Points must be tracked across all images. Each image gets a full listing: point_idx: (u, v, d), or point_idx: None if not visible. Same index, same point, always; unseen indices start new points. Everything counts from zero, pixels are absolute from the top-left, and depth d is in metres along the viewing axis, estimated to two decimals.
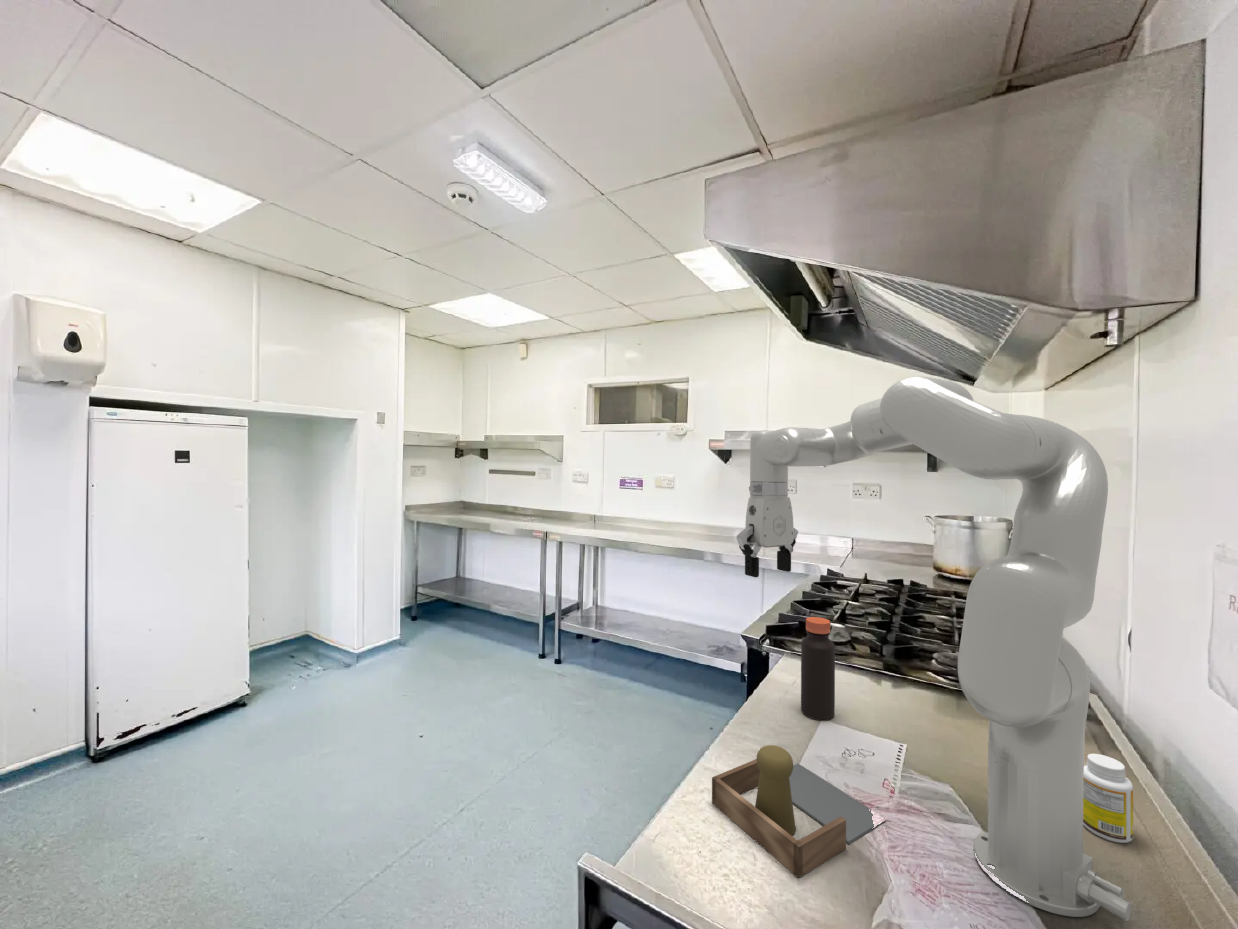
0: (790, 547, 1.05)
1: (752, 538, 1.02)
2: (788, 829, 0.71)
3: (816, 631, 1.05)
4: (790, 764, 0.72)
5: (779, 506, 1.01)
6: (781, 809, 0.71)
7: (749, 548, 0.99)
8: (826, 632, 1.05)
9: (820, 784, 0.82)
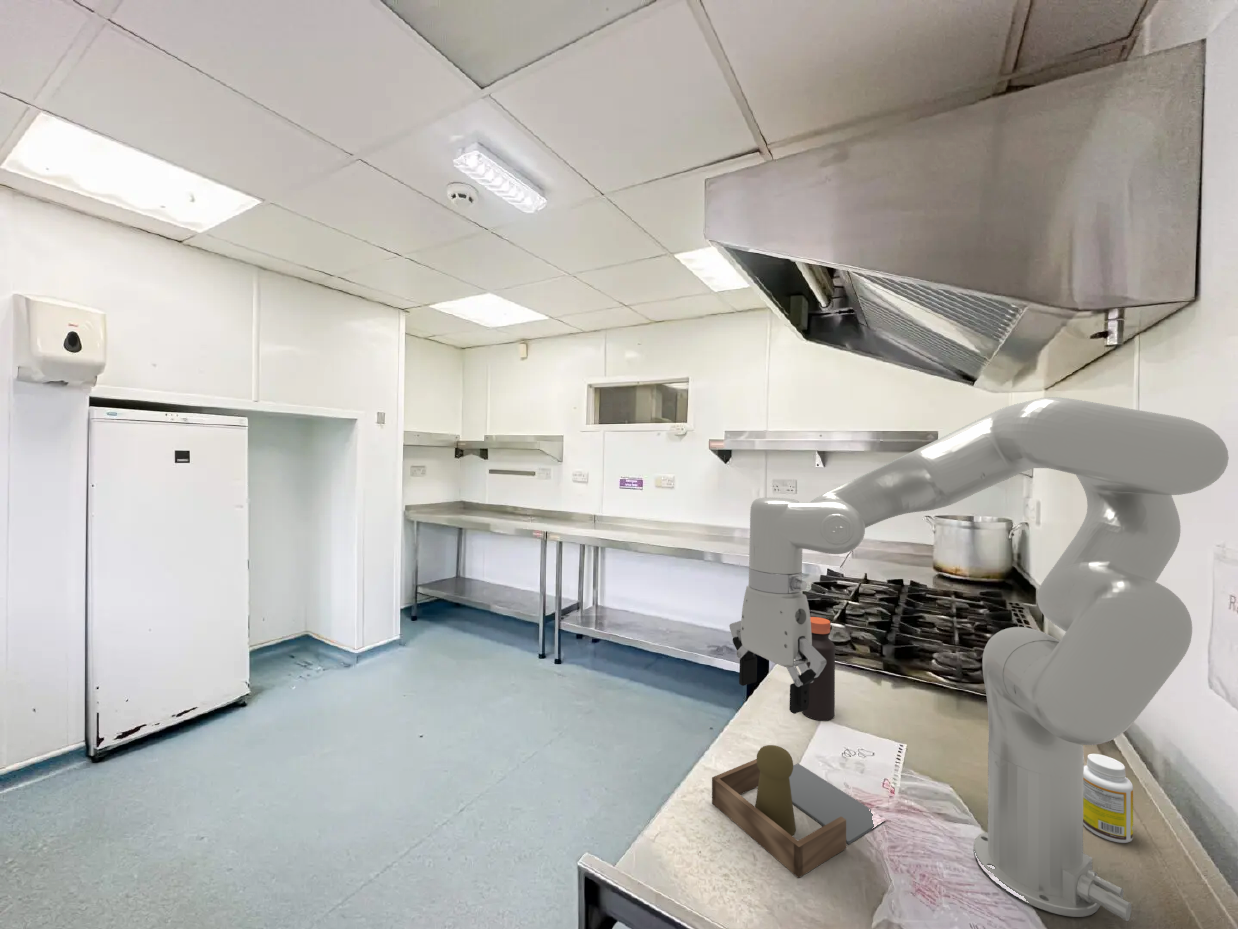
0: None
1: None
2: (788, 829, 0.71)
3: (816, 631, 1.05)
4: (790, 764, 0.72)
5: None
6: (781, 809, 0.71)
7: None
8: (826, 632, 1.05)
9: (820, 784, 0.82)
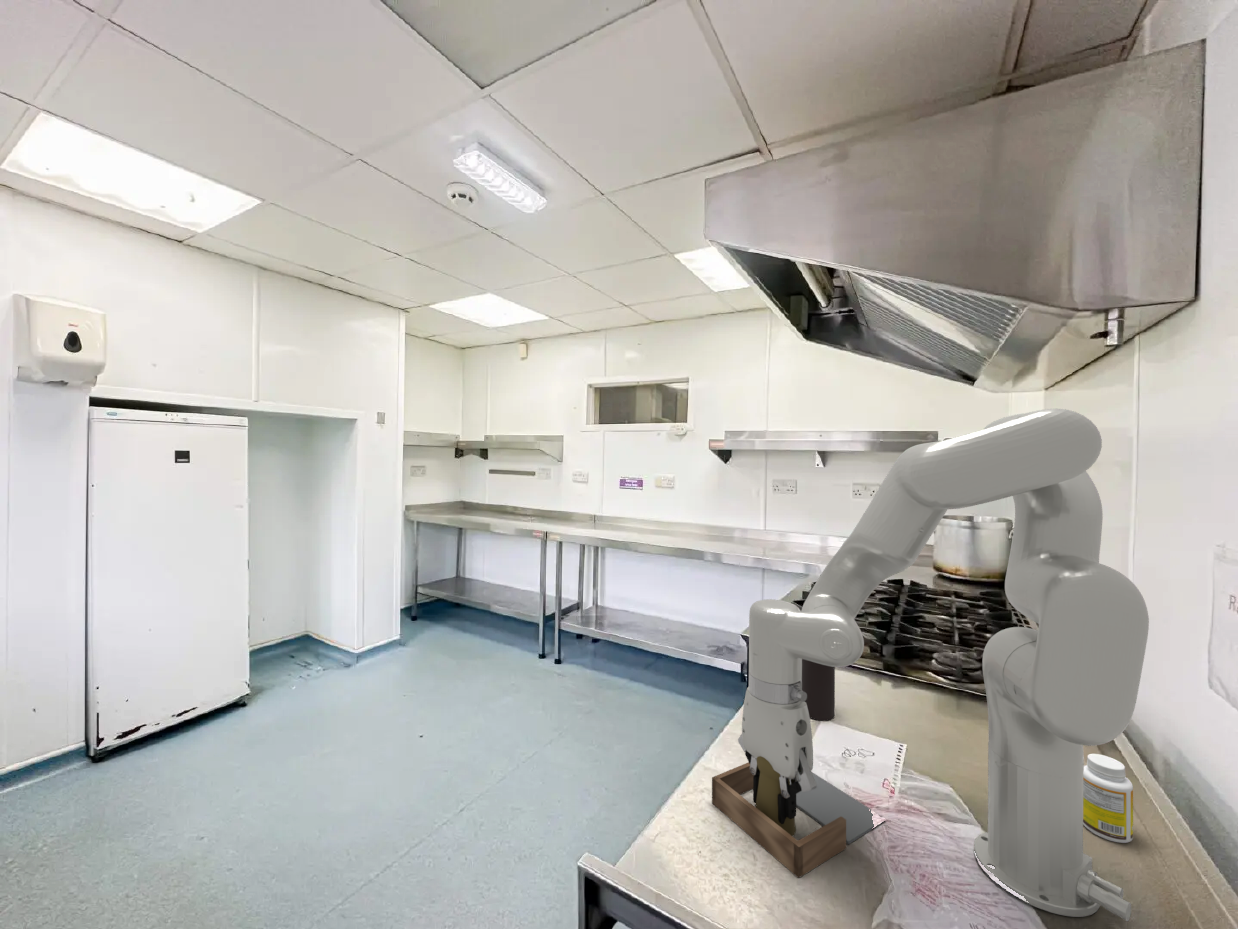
0: None
1: None
2: (788, 829, 0.71)
3: None
4: None
5: None
6: None
7: None
8: None
9: (820, 784, 0.82)
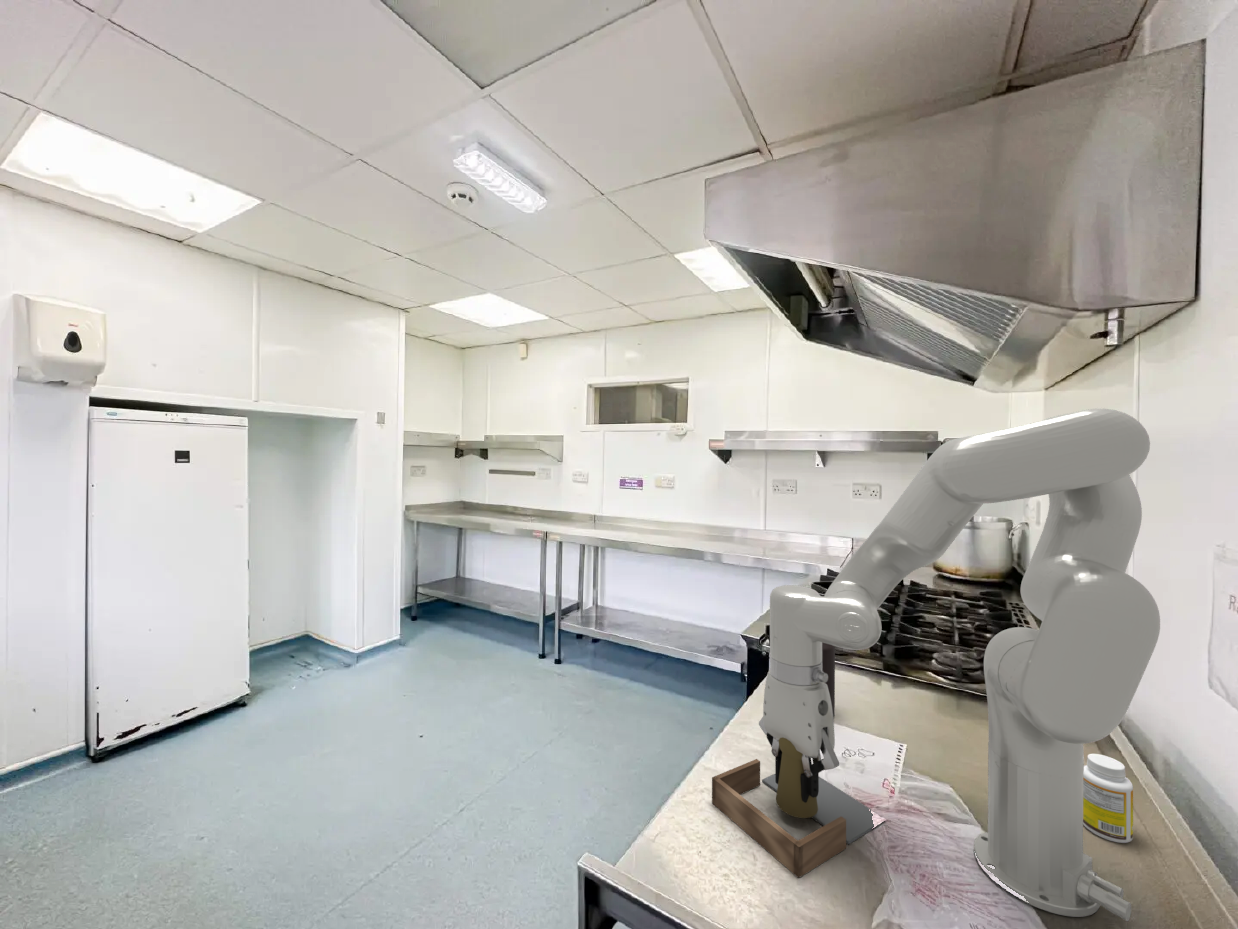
0: None
1: None
2: (811, 807, 0.73)
3: None
4: None
5: None
6: None
7: None
8: None
9: (820, 784, 0.82)
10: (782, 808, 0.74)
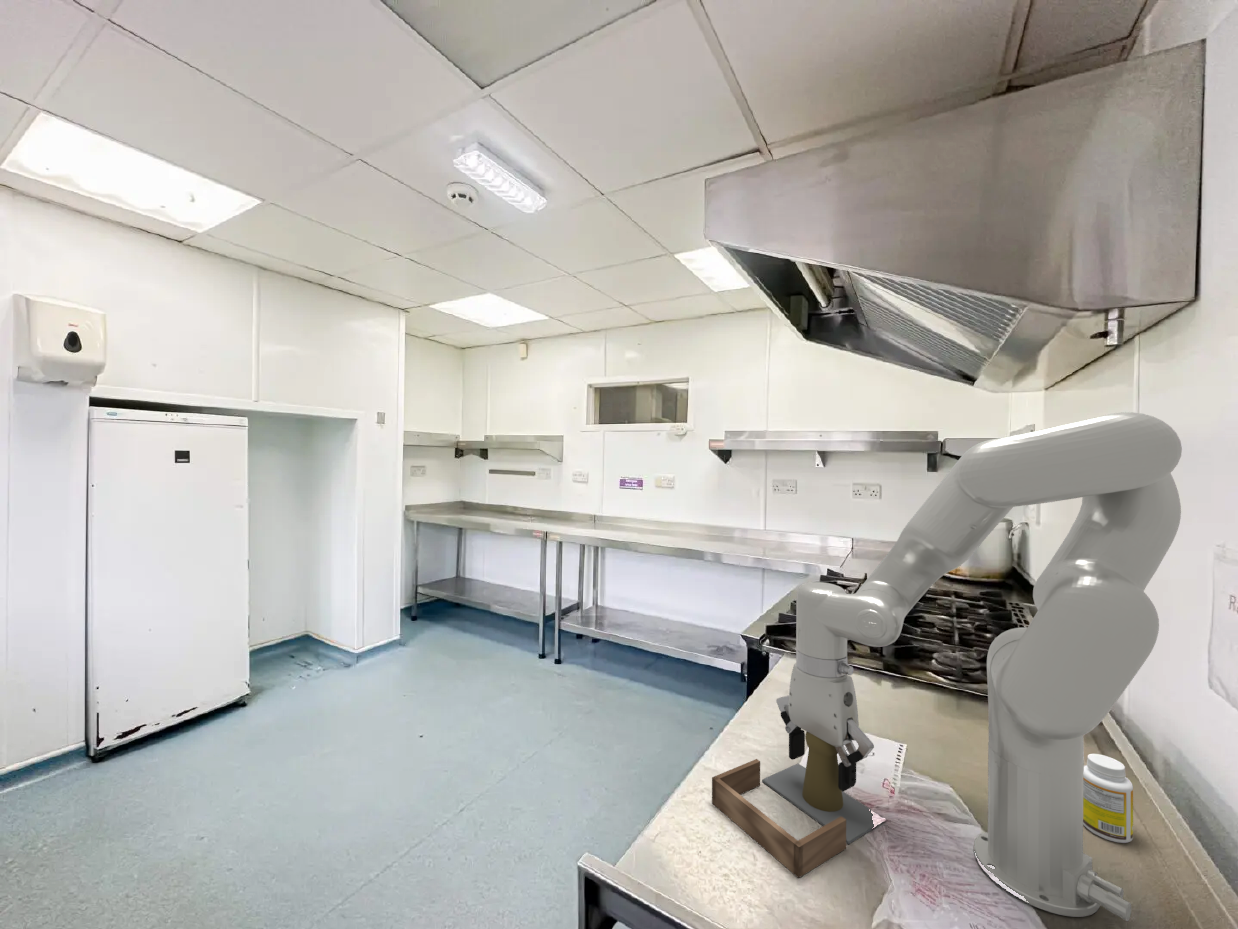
0: None
1: None
2: (837, 802, 0.76)
3: None
4: None
5: None
6: (830, 783, 0.76)
7: None
8: None
9: None
10: (809, 802, 0.78)
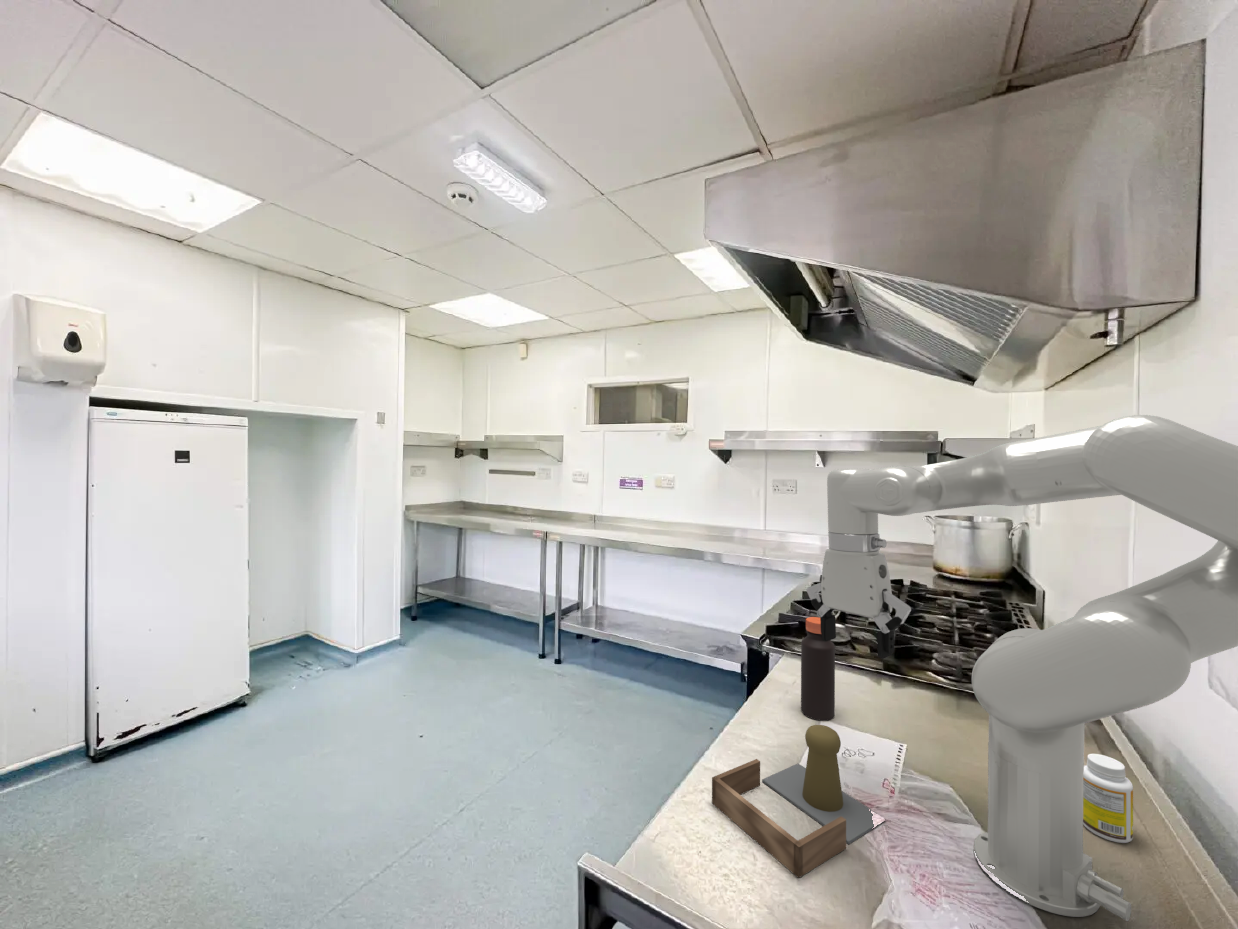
0: None
1: None
2: (837, 802, 0.76)
3: (816, 631, 1.05)
4: (838, 741, 0.77)
5: None
6: (830, 783, 0.76)
7: None
8: None
9: None
10: (809, 802, 0.78)
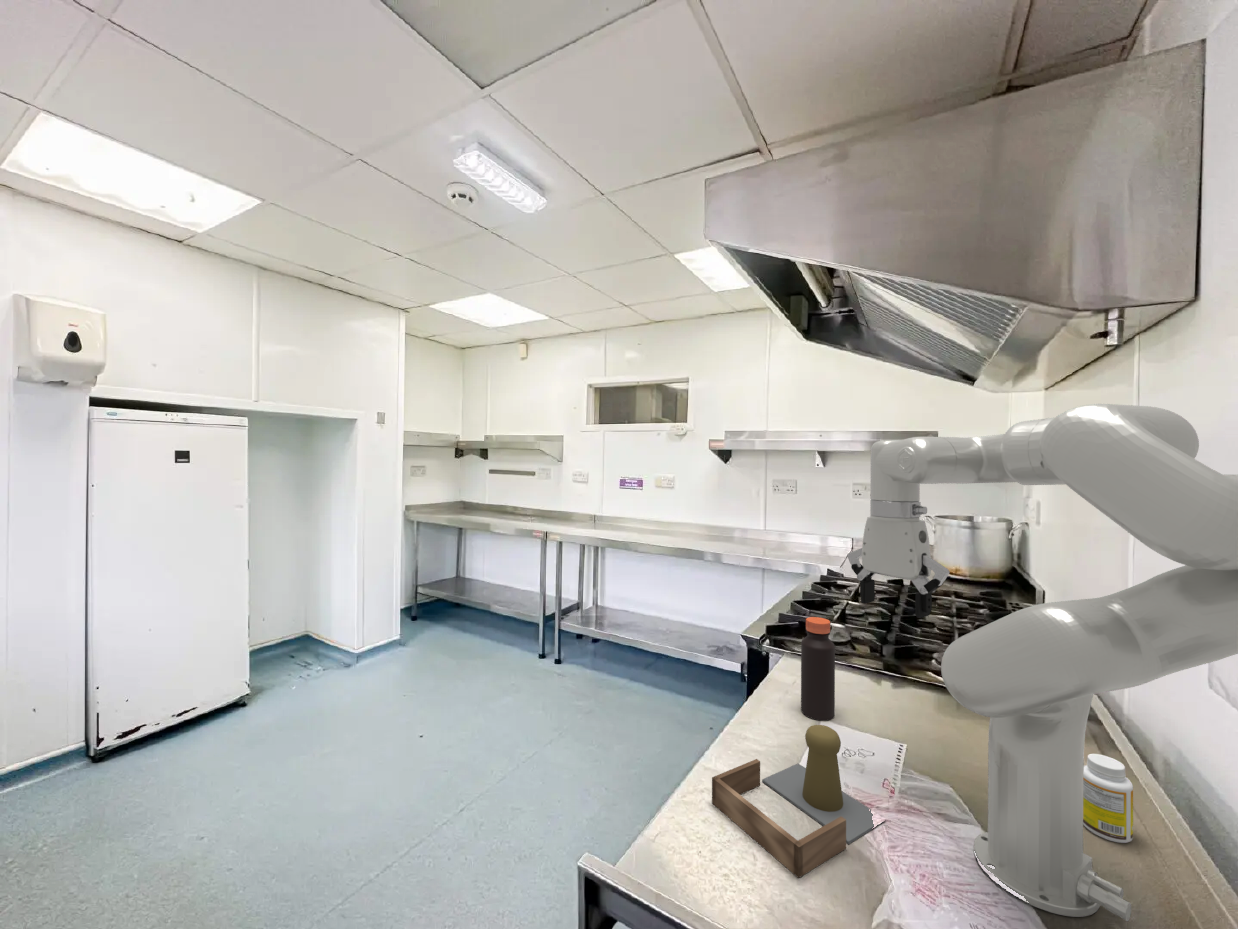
0: None
1: None
2: (837, 802, 0.76)
3: (816, 631, 1.05)
4: (838, 741, 0.77)
5: None
6: (830, 783, 0.76)
7: None
8: (826, 632, 1.05)
9: None
10: (809, 802, 0.78)
